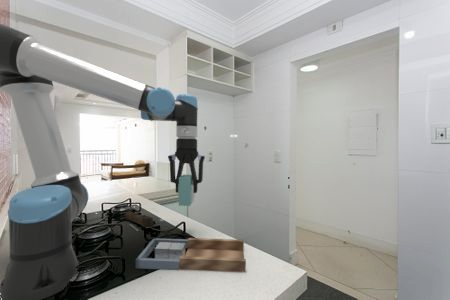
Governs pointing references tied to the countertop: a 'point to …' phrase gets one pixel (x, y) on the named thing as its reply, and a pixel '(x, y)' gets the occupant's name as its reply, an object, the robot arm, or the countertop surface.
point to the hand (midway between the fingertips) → (186, 201)
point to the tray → (158, 263)
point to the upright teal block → (185, 190)
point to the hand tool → (139, 219)
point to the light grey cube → (176, 250)
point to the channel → (214, 255)
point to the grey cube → (162, 250)
